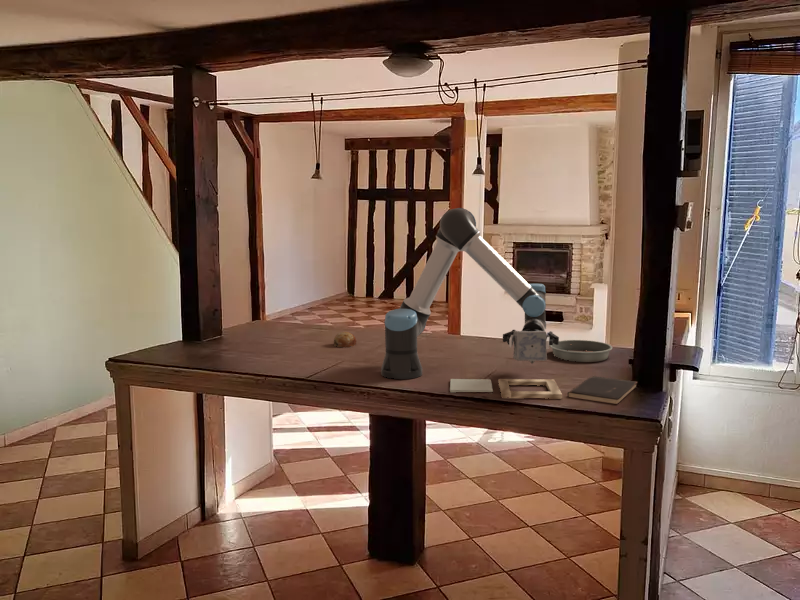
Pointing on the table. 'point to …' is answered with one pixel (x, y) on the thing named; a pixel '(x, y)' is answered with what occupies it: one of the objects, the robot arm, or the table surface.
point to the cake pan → (598, 349)
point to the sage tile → (471, 385)
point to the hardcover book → (603, 389)
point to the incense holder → (530, 346)
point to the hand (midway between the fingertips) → (528, 344)
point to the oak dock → (550, 383)
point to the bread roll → (344, 339)
